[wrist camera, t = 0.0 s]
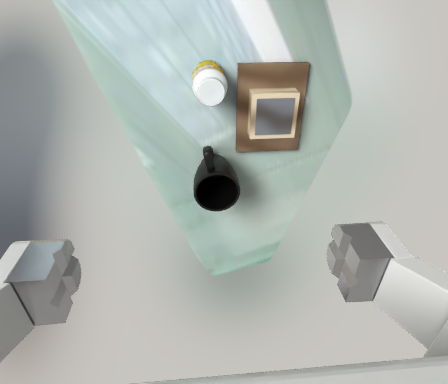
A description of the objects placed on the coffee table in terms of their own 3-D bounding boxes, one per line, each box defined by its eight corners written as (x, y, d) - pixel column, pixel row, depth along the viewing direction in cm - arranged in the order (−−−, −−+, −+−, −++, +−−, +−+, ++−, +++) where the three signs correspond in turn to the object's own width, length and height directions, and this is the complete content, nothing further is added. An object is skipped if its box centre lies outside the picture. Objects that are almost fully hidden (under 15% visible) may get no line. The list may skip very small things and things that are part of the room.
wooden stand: (237, 63, 53) (241, 68, 49) (307, 61, 53) (316, 67, 50) (235, 149, 61) (238, 160, 58) (295, 147, 62) (302, 157, 59)
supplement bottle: (188, 63, 52) (187, 78, 44) (219, 55, 52) (224, 68, 44) (197, 95, 55) (198, 114, 47) (227, 87, 55) (233, 105, 47)
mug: (228, 126, 59) (234, 148, 51) (236, 180, 65) (242, 207, 58) (185, 134, 59) (184, 157, 51) (197, 187, 66) (198, 215, 58)
